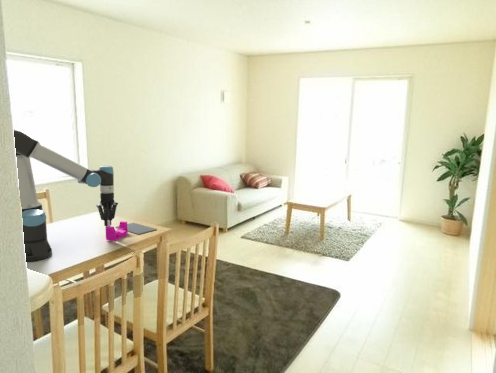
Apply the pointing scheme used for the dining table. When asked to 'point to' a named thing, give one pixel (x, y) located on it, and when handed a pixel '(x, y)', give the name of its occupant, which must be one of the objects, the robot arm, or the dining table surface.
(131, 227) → the pad
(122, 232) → the magenta bearing cap
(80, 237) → the dining table surface
